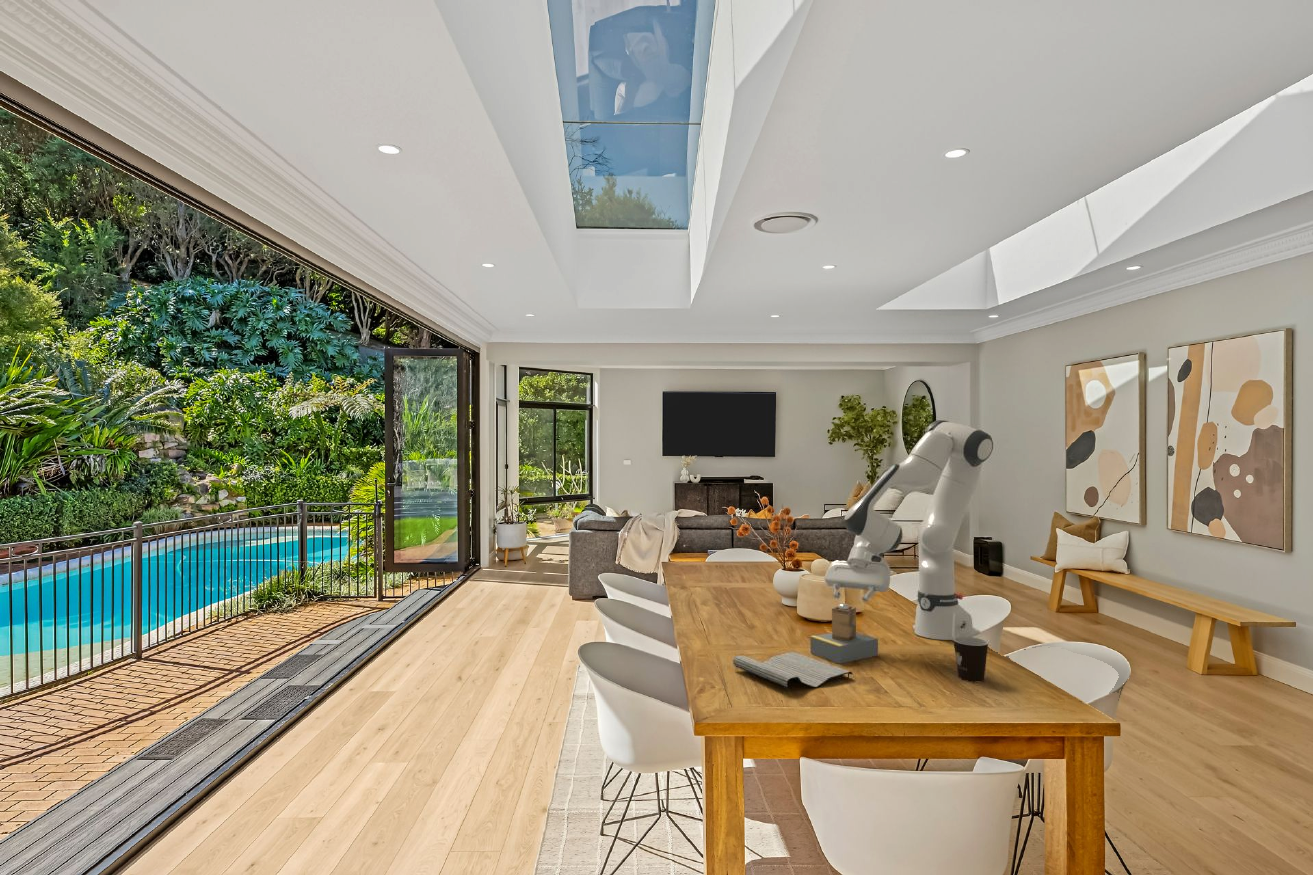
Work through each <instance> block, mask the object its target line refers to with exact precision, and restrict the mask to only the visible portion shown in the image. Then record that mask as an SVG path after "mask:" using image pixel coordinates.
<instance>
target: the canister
mask: <svg viewBox="0 0 1313 875" xmlns="http://www.w3.org/2000/svg"><path fill="white" fill-rule="evenodd" d="M849 607H850V604H848V603H838V609H840V610H849Z"/></svg>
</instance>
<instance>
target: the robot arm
mask: <svg viewBox="0 0 1313 875" xmlns="http://www.w3.org/2000/svg"><path fill="white" fill-rule="evenodd" d="M993 450H994V442H993V438H992V436H991V435H990V434H988V433H987V432H985V431H983V430H981V429H976V428H975V427H972V426H969V425H966V424H961V423H957V422H950V421H949V420H944V419H943V420H940V419H939V420H938V419H937V420H935V421H933V422H931V423H930V424H929V425H928V426H927V428H926V429H925V432H924V434H923V435H922V437H921V438H920V439H919V440H918V441H917V443H916V444H915V445H914V446H913V448H912V450H911V451H910V452H909V454H908V456H907V457H906V458H905V459H904V460H903V461H902V462H900V463H898V464H897V463H894V464H892V465H890V466H889V467H887V468H886V469H885V470H883V472H882V474H880V476H878V478H877V479H876V480H875V481H874V482H873V483H872V485H871V486H869V488H868V489H867V490H866V491H865V493H863V495H862V496H861V497H860V498H859V499H858V500H857V501H856V502H855V503H854V504H853V505H852V506H851V507H850V508H849V509H848V510H847V512H846V514H845V515H844V517H843V520H844V521H843V522H844V526H845V528H846V530H847V532H849V533H850V534H851V533H852V534H854V535H855V536H854V537H855V538H854V541H853V546H852V547H851V549H850V552H849V554H848V558H847V560H834V561H832V562H831V563H830V564H829V567H828V568H827V570H826V572H825V575H824V577H823V579H824V581H825V583H826V585H827V586H828V587H831V588H833V591H834V592H833V593H832V594H833V595H832V597H833V598H834V599H840V596H841V593H840V591H839V590H840V588H843V589H852V590H853V589H854V590H863V591H867V592H866V593H863V594H862V597H861V599H862V602H869V601H870V598H871V597H872V596H874V595H875V593H876V592H880V593H885V592H887V591H889V588H890V583H891V567H890V565H889V563H888V561H887V559H886V558H885V557H883V556H880V554H887V553H890V552H893V551H895V550H896V549H897V548H898V547H899V546H900V545H901V542H902V539H903V529H902V526H901V525H899V524H898V523H897V522H895V521H894V520H892V519H891V518H889V517H887V516H885V515H883V514H882V513H880V512H878V511H876V510H875V509H874V506H875V505H876V504H877V502H878V501H879V500H880V499H881V498H882V497H883V496H884V494H886V492H887V491H888V490H889V489H890V488H892V487H895V486H896V487H897V486H898V487H899V486H901V487H905V488H912V489H926V488H929V487H931V486H933V485H934V484H935V482H936V481H937V480H938V479H939V480H938V483H937V485H936V487H935V489H934V492H933V495H932V496H931V500H930V503H929V505H928V507H927V511H926V514H925V516H924V519H923V520H922V521H921V522H920V524H919V526H918V531H917V532H918V541H917V542H918V591H917V602H918V604H917V606H916V610H915V619H914V620H915V622H914V624H913V625H912V629H913V630H914V634H915V635H918V636H920V637H921V638H922V637H924V638H927V639H933V640H941V641H953V639H954V638H956V637H976V636H978V635H981V630H980V629H979V628H976V627H973V618H972V615H971V614H970V613H969V612H968V611H967V610H966V609H965V608H963V607H962V606H961V605H960V604H959V600H963V599H964V595H963V593H961V592H960V593H959V592H956V591H955V562H954V560H955V559H954V558H955V557H954V544H955V542H956V539H957V536H958V534H959V531H960V528H961V525H962V522H963V520H964V517H965V514H966V510H967V508H968V505H969V503H970V501H971V499H972V496H973V493H974V492H975V489H976V486H977V484H978V480H979V479H980V474H981V470H982V465H983V464H982V463H984V462H985V461H986V460H988V459H989V458H990V456H991V455H992V453H993Z"/></svg>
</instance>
